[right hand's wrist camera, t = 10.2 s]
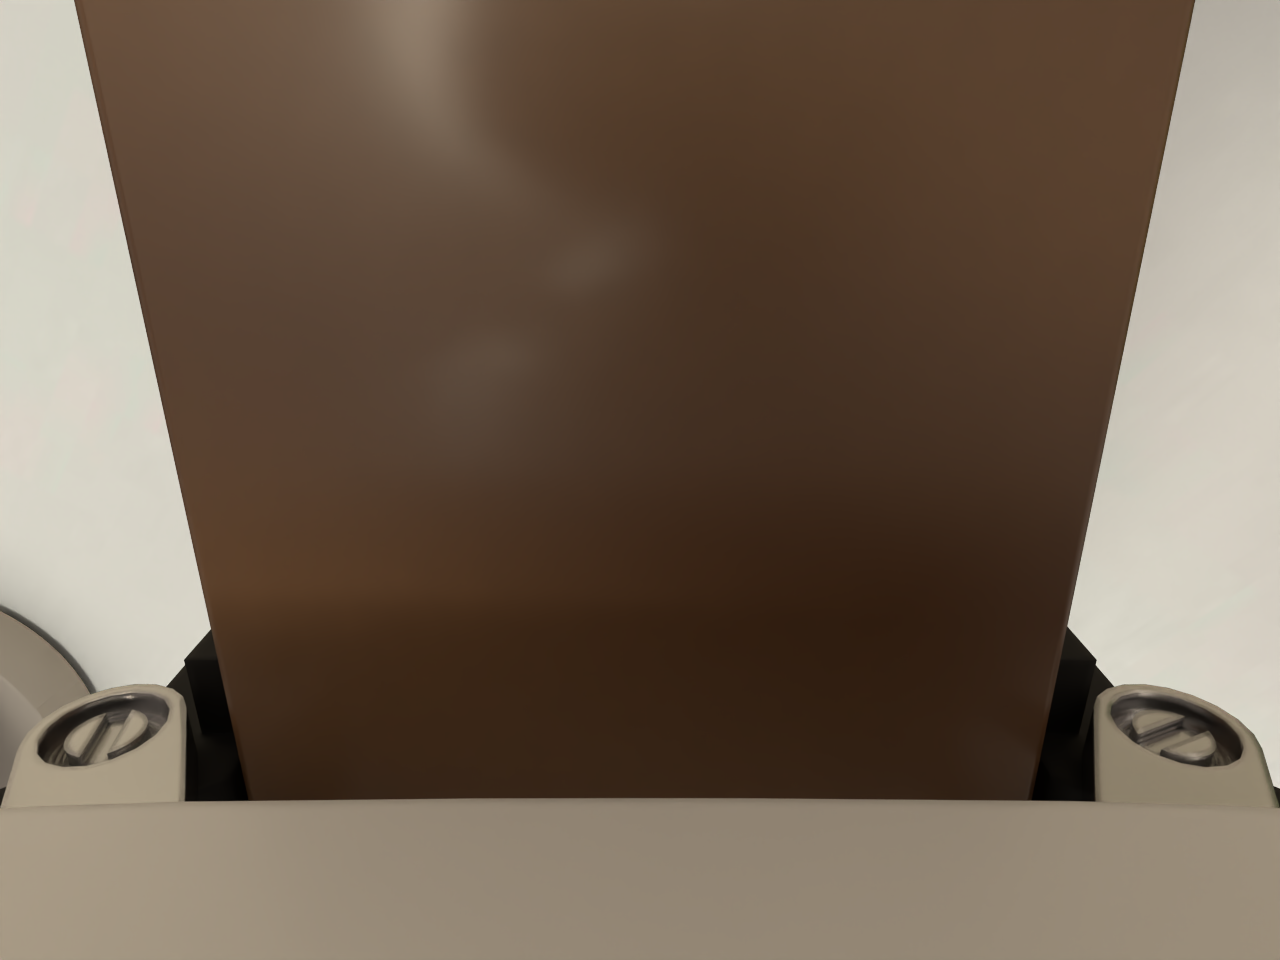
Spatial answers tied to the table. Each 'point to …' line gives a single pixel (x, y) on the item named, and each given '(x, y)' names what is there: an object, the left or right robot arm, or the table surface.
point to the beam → (637, 375)
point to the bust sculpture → (29, 686)
